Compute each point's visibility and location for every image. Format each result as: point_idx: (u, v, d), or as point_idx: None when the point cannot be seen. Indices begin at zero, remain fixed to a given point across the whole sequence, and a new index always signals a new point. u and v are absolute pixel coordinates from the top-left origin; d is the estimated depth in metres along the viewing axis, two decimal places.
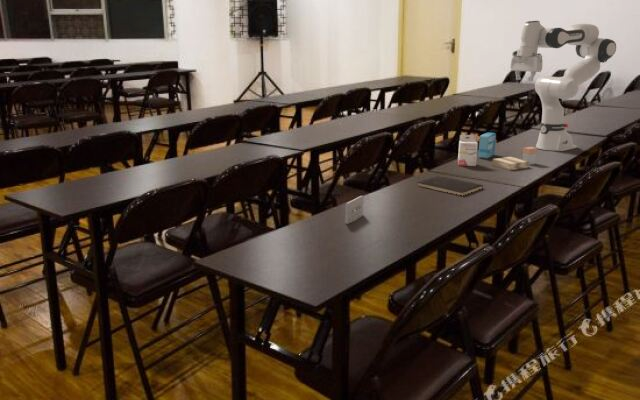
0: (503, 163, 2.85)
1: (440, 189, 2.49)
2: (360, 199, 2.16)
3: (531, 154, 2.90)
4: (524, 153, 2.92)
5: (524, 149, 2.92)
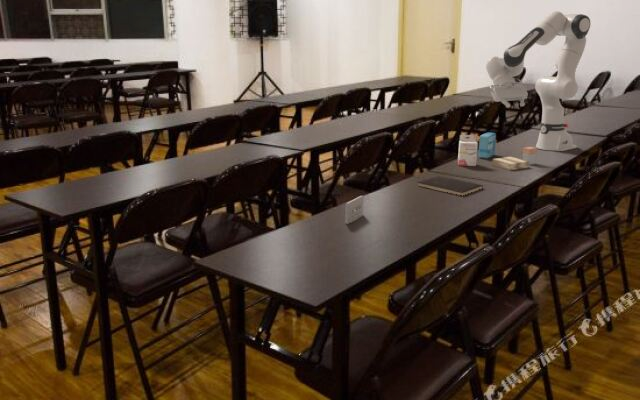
0: (503, 163, 2.85)
1: (440, 189, 2.49)
2: (360, 199, 2.16)
3: (531, 154, 2.90)
4: (524, 153, 2.92)
5: (524, 149, 2.92)
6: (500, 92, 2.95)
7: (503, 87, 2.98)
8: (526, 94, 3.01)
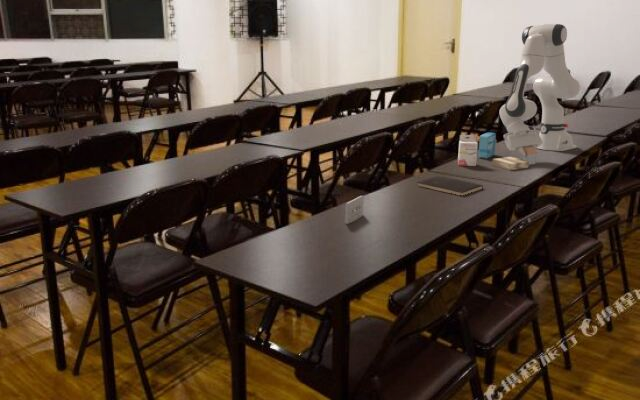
0: (503, 163, 2.85)
1: (440, 189, 2.49)
2: (360, 199, 2.16)
3: (531, 154, 2.90)
4: None
5: (524, 149, 2.92)
6: (514, 141, 2.91)
7: (517, 135, 2.94)
8: (540, 142, 2.96)
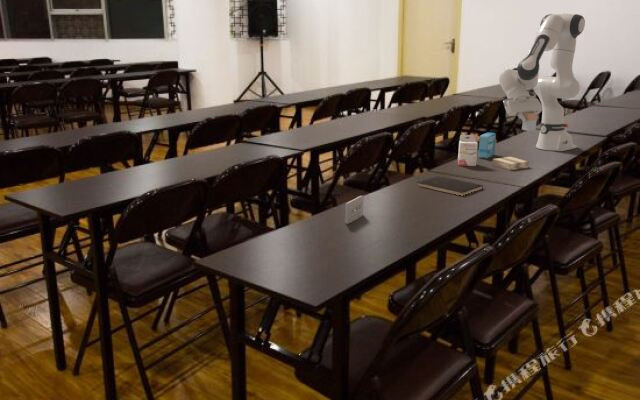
0: (503, 163, 2.85)
1: (440, 189, 2.49)
2: (360, 199, 2.16)
3: (531, 120, 2.84)
4: None
5: (524, 115, 2.86)
6: (514, 106, 2.85)
7: (517, 101, 2.87)
8: (541, 108, 2.90)
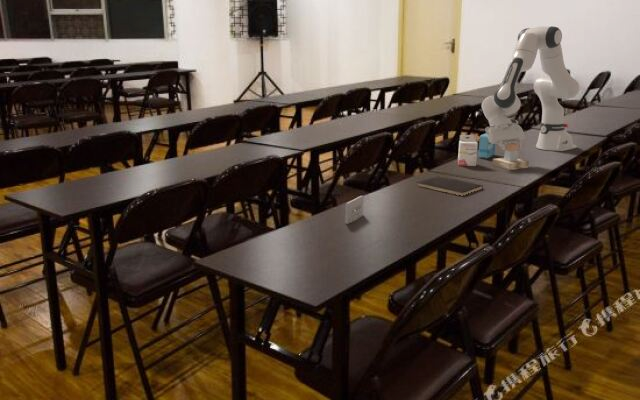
0: (503, 163, 2.85)
1: (440, 189, 2.49)
2: (360, 199, 2.16)
3: (513, 150, 2.85)
4: (506, 149, 2.87)
5: (506, 145, 2.86)
6: (496, 134, 2.85)
7: (499, 128, 2.87)
8: (523, 135, 2.90)
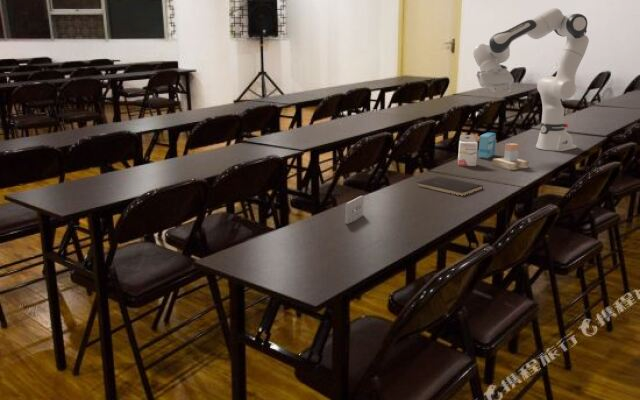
0: (503, 163, 2.85)
1: (440, 189, 2.49)
2: (360, 199, 2.16)
3: (513, 150, 2.85)
4: (506, 149, 2.87)
5: (506, 145, 2.86)
6: (486, 78, 3.03)
7: (489, 73, 3.06)
8: (512, 80, 3.08)
